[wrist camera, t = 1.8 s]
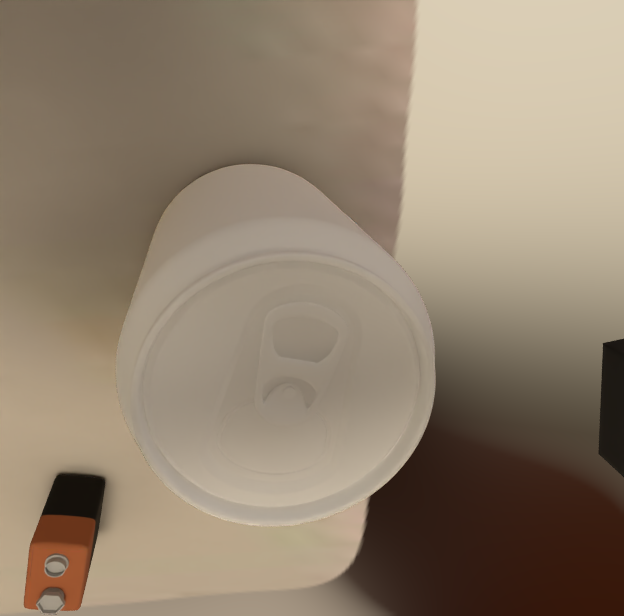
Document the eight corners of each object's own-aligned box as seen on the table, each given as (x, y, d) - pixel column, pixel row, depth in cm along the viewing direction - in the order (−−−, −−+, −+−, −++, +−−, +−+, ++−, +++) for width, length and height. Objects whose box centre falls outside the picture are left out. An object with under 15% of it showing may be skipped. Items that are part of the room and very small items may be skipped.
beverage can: (136, 331, 25) (82, 528, 14) (170, 139, 22) (137, 191, 11) (318, 361, 27) (398, 555, 16) (367, 187, 24) (503, 272, 13)
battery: (49, 532, 28) (18, 621, 23) (56, 471, 27) (25, 552, 22) (98, 535, 28) (77, 623, 24) (106, 475, 27) (86, 555, 22)
